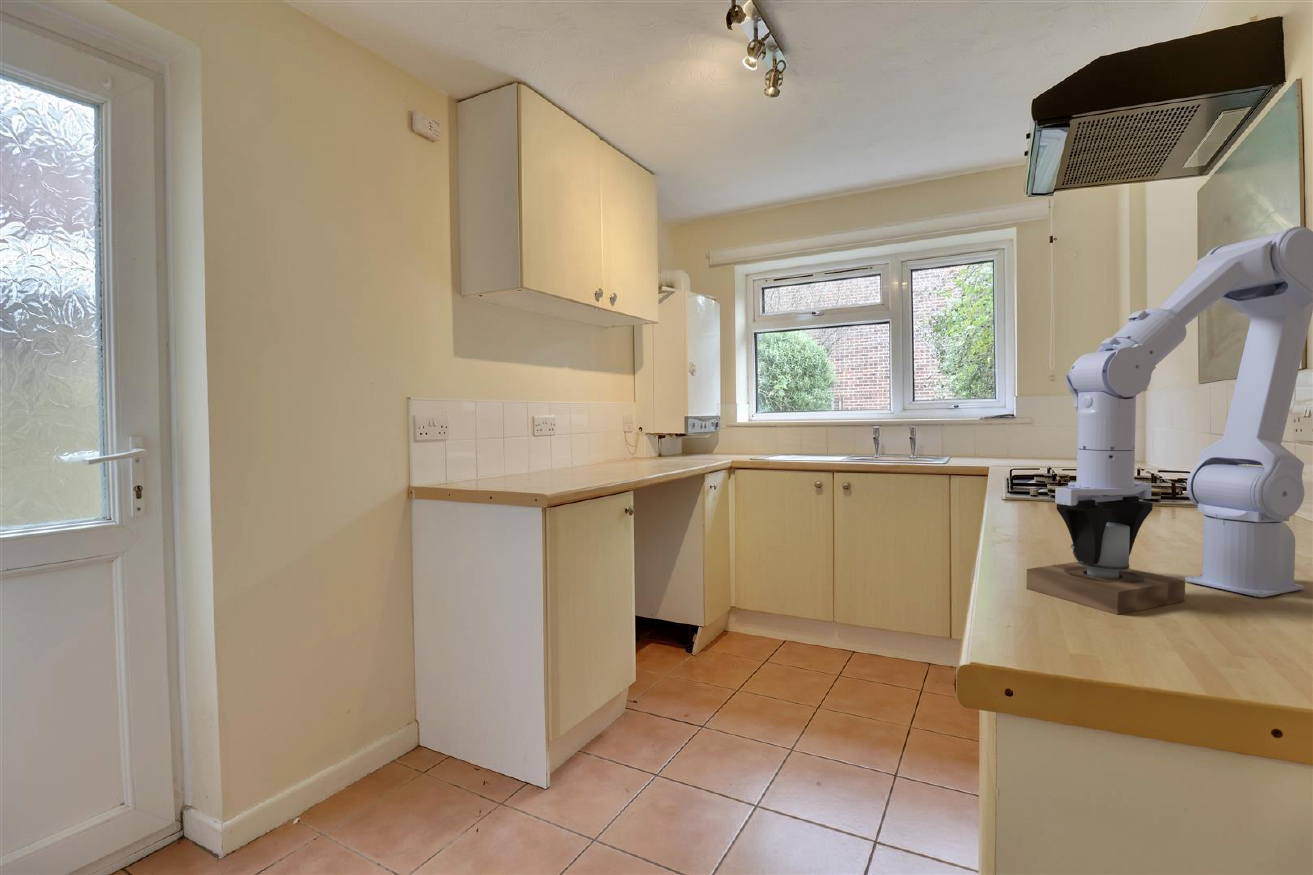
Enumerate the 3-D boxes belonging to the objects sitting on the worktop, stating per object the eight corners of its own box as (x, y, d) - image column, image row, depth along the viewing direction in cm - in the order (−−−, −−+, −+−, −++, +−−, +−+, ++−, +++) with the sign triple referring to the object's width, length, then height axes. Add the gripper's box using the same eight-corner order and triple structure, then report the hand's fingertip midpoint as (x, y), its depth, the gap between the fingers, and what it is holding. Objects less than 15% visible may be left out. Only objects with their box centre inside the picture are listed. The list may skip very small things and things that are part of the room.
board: (1090, 578, 83) (1090, 559, 83) (1184, 601, 73) (1185, 580, 73) (1026, 588, 79) (1026, 568, 79) (1117, 614, 69) (1117, 592, 68)
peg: (1095, 576, 79) (1097, 519, 79) (1138, 586, 74) (1140, 526, 74) (1067, 580, 77) (1069, 522, 77) (1110, 591, 72) (1111, 530, 72)
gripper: (1110, 446, 81) (1108, 548, 82) (1032, 449, 76) (1030, 558, 77) (1171, 449, 75) (1168, 559, 75) (1090, 452, 70) (1087, 571, 70)
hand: (1102, 559), depth 76 cm, fingers closed on peg, 5 cm apart
